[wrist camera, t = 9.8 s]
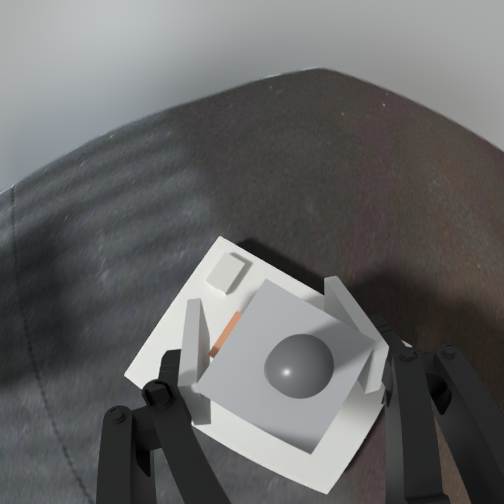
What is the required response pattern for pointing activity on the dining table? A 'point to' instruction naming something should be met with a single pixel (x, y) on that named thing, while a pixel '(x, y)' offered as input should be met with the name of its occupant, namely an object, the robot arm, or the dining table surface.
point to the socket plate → (217, 317)
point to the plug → (285, 366)
